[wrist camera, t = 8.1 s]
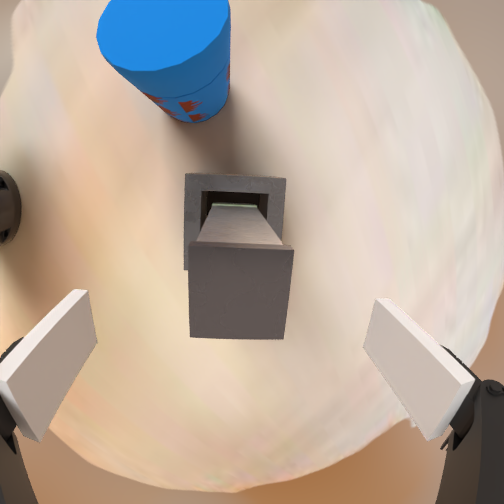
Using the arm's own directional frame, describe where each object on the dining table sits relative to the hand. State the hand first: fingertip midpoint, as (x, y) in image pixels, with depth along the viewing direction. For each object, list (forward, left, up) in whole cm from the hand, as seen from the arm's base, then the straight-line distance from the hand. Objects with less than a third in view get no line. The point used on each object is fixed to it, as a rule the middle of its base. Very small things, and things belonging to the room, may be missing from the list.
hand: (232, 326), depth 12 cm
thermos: (-7, +19, -34) cm, 40 cm away
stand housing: (0, 0, -34) cm, 34 cm away
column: (0, 0, -26) cm, 26 cm away
